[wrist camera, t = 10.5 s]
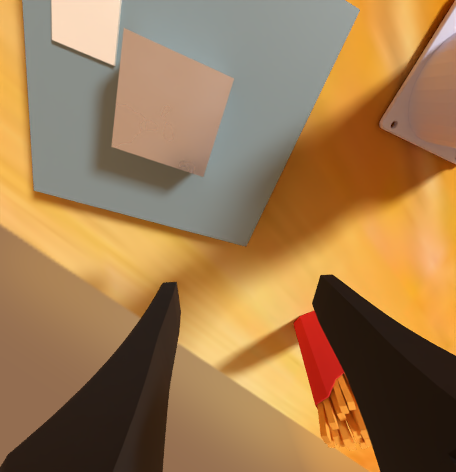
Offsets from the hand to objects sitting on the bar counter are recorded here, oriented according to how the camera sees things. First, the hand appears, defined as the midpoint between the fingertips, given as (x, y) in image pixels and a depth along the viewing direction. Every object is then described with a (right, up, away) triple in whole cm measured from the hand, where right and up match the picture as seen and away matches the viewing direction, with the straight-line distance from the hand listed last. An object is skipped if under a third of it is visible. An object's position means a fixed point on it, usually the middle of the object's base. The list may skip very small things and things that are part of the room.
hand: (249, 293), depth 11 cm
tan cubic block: (-4, +12, +4) cm, 13 cm away
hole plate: (-4, +12, +4) cm, 13 cm away
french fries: (+10, -8, +18) cm, 22 cm away
